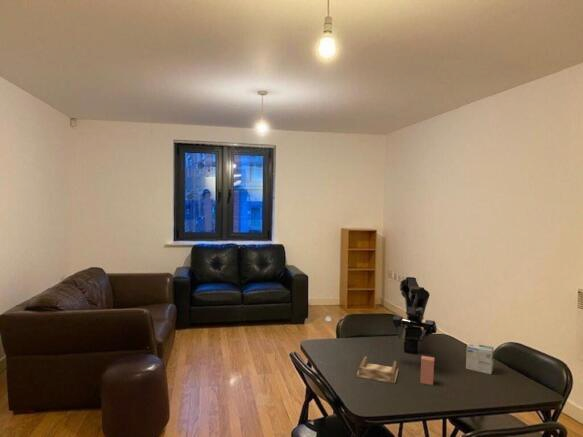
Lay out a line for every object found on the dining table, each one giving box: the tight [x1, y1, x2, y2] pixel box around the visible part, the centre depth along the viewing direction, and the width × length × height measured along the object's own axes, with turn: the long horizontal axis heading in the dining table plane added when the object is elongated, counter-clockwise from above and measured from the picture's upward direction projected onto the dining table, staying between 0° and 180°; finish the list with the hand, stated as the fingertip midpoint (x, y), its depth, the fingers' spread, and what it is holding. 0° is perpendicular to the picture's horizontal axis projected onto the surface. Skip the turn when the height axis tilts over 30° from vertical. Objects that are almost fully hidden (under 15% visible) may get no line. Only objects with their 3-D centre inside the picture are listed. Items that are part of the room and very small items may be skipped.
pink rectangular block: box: [419, 355, 435, 386], centre depth 166 cm, size 5×4×10 cm
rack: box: [356, 355, 399, 384], centre depth 173 cm, size 16×14×4 cm
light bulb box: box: [465, 342, 495, 375], centre depth 181 cm, size 11×7×11 cm, turn 58°
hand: (409, 339), depth 175 cm, fingers open, 9 cm apart
